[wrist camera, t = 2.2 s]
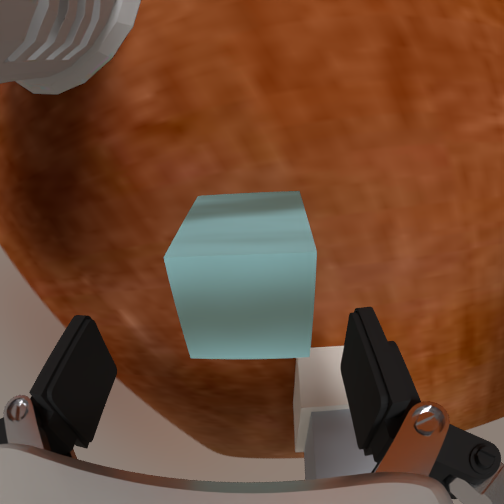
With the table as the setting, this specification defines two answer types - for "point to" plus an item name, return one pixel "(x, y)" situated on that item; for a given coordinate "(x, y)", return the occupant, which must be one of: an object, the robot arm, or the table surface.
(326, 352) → the block
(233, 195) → the teal pillar
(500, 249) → the table surface
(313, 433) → the tower top
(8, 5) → the french press
